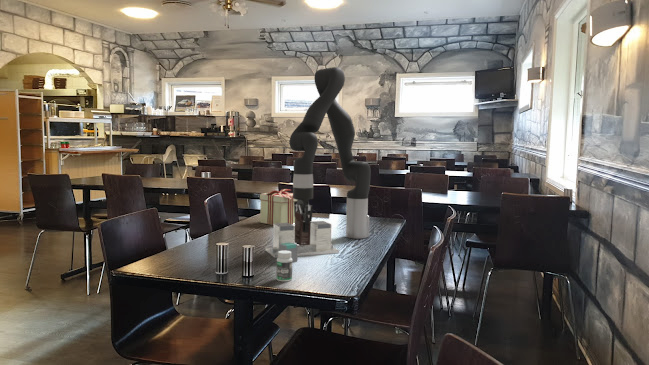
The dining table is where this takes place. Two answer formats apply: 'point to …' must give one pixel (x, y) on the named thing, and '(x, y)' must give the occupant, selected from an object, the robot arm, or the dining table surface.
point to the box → (301, 230)
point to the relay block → (289, 249)
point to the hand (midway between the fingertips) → (302, 230)
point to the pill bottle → (284, 266)
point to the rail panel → (318, 245)
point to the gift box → (277, 207)
